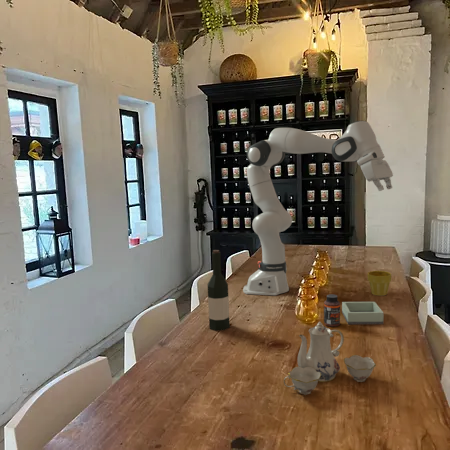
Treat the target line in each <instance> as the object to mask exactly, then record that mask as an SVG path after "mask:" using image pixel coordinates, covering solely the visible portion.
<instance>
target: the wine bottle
mask: <svg viewBox="0 0 450 450" xmlns="http://www.w3.org/2000/svg"><path fill="white" fill-rule="evenodd" d="M221 256H222V255H221V251H220V250H219V249H213V250H212V253H211V259H212V261H211V262H212V275H211V277H210V279H209V280H208V283H207V300H208V301H207V302H208V304H207V305H208V319H209V320H208V323H209V324H208V325H209V327H208V328H209V329H210V330H212V331H216V332H217V331H226V330H227V329H230V328H231V327H230V324H231V323H230V306H229V305H230V303H229V302H230V301H229V285H228V281H226V279H225V276H224V275H223V274H222V260H221Z"/></svg>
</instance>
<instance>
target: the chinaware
mask: <svg viewBox="0 0 450 450" xmlns="http://www.w3.org/2000/svg"><path fill="white" fill-rule="evenodd" d="M308 333H309V335H310V343H309V348H307V347H308V340H307V337H306V336H305V335H303V334H299V335H298V337H300V339H301V344H300V348H299V351H298V354H297V366H294V367H293V368H292V369H291V371H288V373H287V374H288V375H287V376H285V377H284V379H283V384H284V386H285V387H287V388H293V390H294V391H297V390H298V391H299V394H302V395H305V396H306V395H309V394H312V393H311V392H312V391H313V390H315V388H316V387H317V386H318V382H320V383H325V382H331V381H333V380H334V379H336V374H338V372H339V371H340V370H341V366H340V364H339V363H338V361H337V359H336V357H339V355H340V349H341V348H342V347H343V344H344V340H345V339H344V338H345V337H344V335H343V333H342V332H341V331H340V330H338V329H330V328H328V327H327V326H326V325H325V326H324V325H323V323H322V322H321V321H318V323H317V324H315V326H313V327H310V328H309V329H308ZM334 333H338V334H339V335H340V343H339V344H338V346H337V347H336V348H335V349H332V347H331V338H333V337H334ZM343 362H344V364H345V367H346V370H347V373H348V374H349V375H350V376H351V377H353V380H354V381H356V382H357V383H359V382H360V383H362V382H364V383H365V381H366V380H367V378H369V377H370V376H371V374H372V373H373V370H374V368H376V366H377V365H376V363H375V361H374V359H373V358H372V357H369V356H366V357H363V356H361V355H358V354H353V355H350V357H344V358H343ZM286 379H289V380H290V379H291V382H292V384H293V385H287V384H286V383H285V381H286Z"/></svg>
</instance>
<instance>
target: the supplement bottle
mask: <svg viewBox="0 0 450 450" xmlns="http://www.w3.org/2000/svg"><path fill="white" fill-rule="evenodd" d="M323 323H324V325H325V326H326V327H334V328H335V327H338V326H340V325H341V303H340V301H339V300H338V295H337V294H332V293H331V294H327V295H326V300H325V301H324V302H323Z"/></svg>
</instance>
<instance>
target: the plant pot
mask: <svg viewBox="0 0 450 450" xmlns="http://www.w3.org/2000/svg"><path fill="white" fill-rule="evenodd" d="M367 281H368V282H369V286H370V287H369V288H370V291H371V294H372V295H373V296H378V297H383V296H386V295H388V292H389V288H390V287H389V286H390V283H391V282H392V273H391V272H390V271H386V270H371V271H368V272H367Z"/></svg>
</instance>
